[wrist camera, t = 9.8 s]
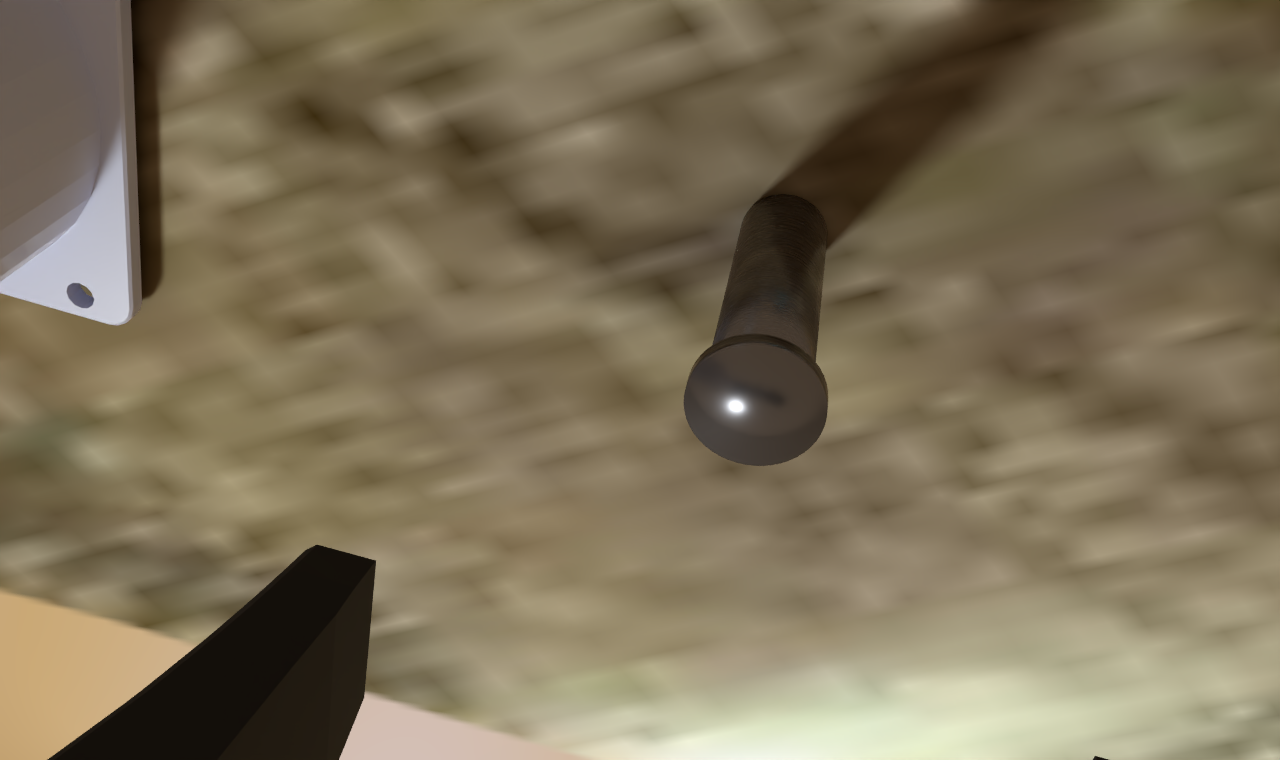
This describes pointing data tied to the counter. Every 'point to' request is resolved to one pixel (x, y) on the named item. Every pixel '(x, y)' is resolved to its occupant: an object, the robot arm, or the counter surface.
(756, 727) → the counter surface
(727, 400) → the pin
